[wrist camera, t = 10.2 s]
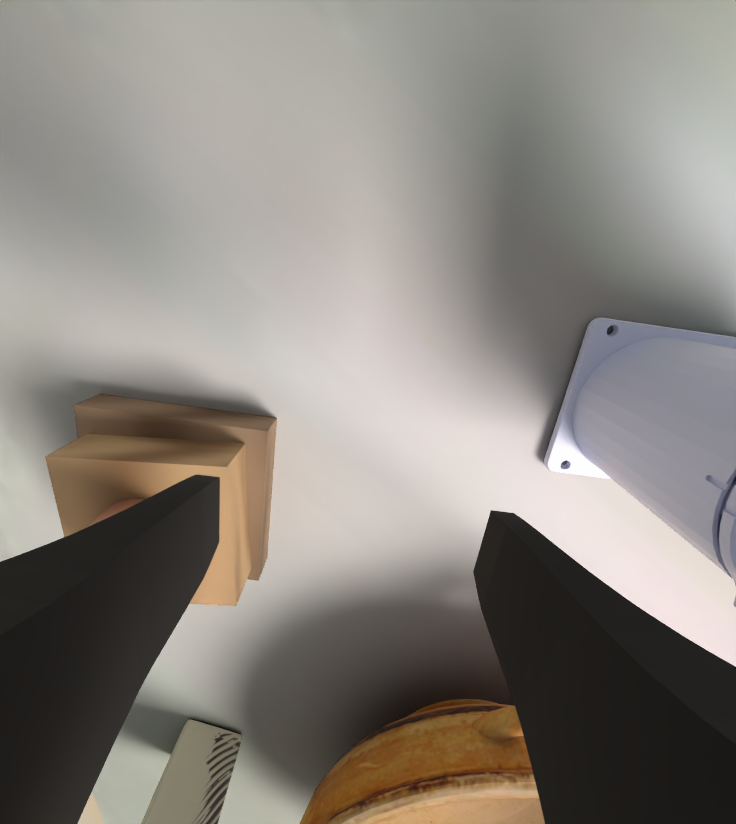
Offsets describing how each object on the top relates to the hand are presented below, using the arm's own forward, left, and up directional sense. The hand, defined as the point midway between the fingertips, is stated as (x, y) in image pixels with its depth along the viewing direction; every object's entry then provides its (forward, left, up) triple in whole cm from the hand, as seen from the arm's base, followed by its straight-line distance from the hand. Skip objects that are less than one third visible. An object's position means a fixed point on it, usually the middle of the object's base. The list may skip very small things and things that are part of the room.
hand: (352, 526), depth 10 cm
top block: (+9, +6, -8) cm, 13 cm away
